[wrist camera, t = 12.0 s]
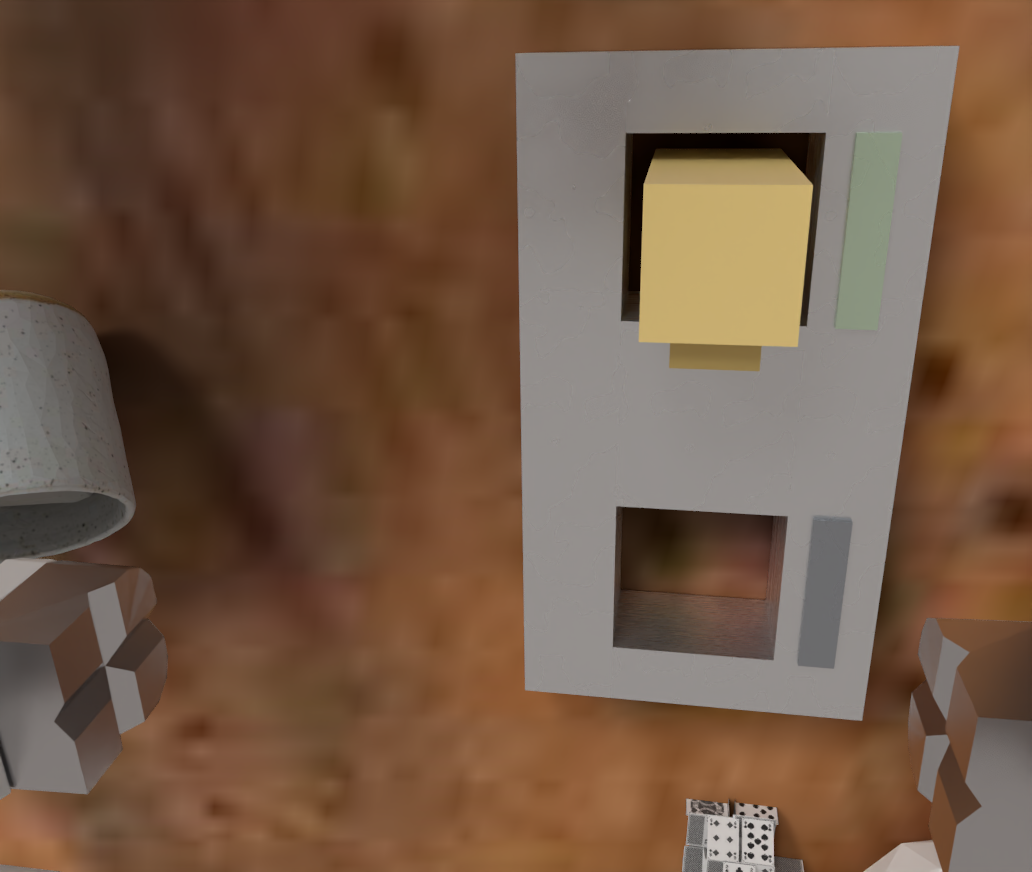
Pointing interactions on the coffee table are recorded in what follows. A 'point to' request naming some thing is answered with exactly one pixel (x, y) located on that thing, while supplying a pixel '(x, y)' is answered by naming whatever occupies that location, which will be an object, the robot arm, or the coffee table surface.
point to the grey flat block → (719, 373)
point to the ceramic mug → (56, 432)
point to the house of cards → (733, 839)
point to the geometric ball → (909, 859)
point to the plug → (723, 255)
